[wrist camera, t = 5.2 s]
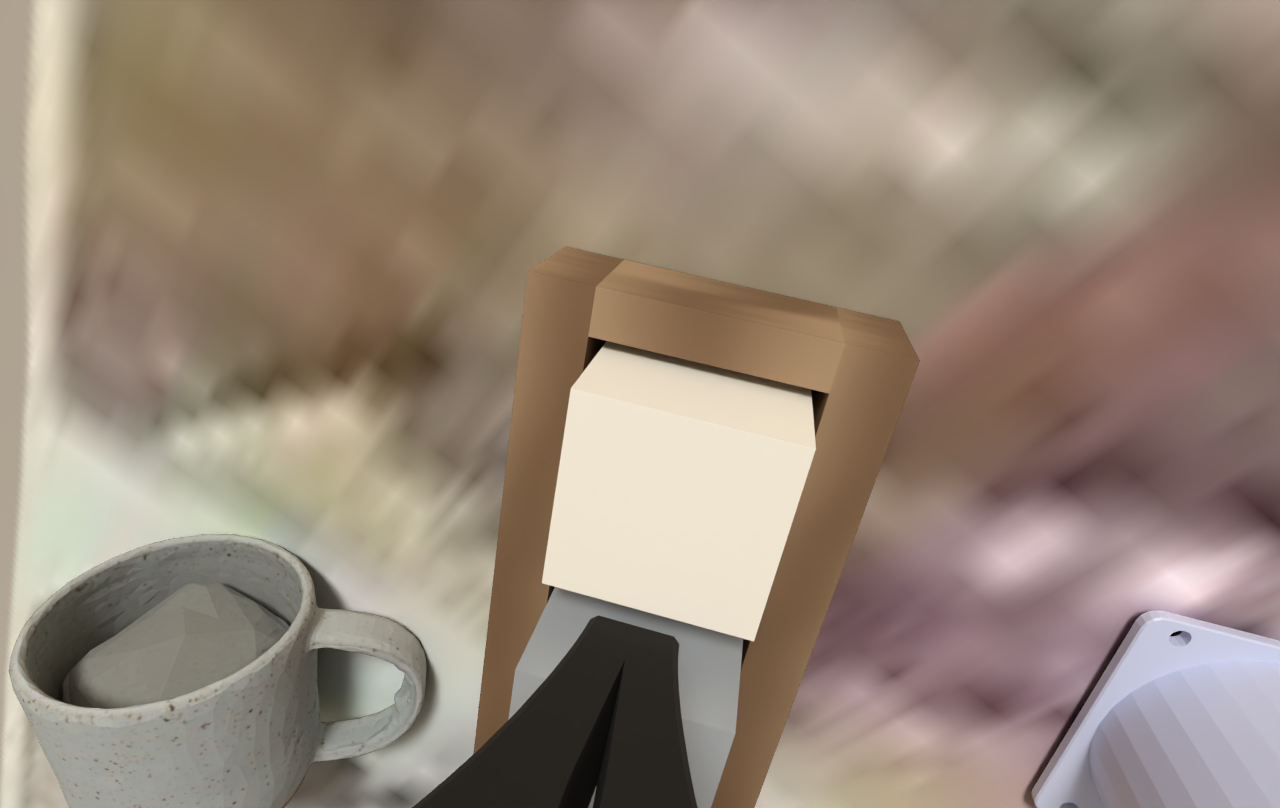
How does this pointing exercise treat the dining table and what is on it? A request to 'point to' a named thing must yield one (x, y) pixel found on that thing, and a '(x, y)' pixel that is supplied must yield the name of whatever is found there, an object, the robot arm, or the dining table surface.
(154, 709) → the ceramic mug
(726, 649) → the key slate
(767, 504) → the key ivory
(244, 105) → the dining table surface
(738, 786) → the keypad frame
